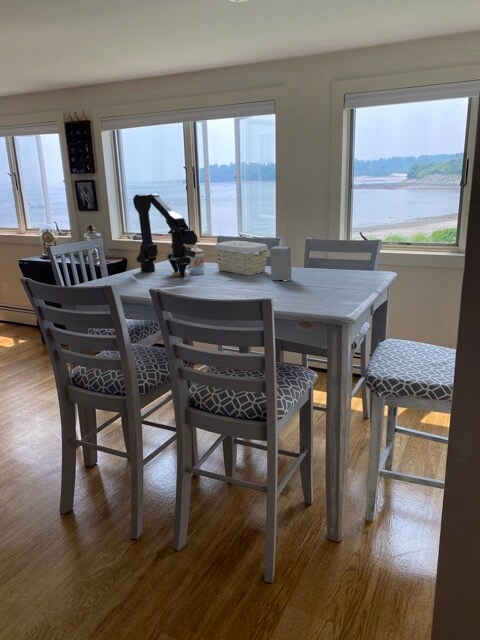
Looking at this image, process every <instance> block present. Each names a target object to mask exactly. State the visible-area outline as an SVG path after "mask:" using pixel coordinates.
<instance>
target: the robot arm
mask: <svg viewBox="0 0 480 640" xmlns="http://www.w3.org/2000/svg"><path fill="white" fill-rule="evenodd" d="M132 202H133V205H134V209H135V210H136V212H137V213H138V218H139V219H138V220H139V227H140V234H141V236H140V237H141V244H140V247H139V249H140V250H139V252H140V253H138V256H137V257H136V262H137V263H138V264H139V265H140V266H139V268H140V273H141V274H142V273H143V274H147V273H149V274H150V273H154V272H156V268H155V266H156V265H155V264H154V262H156V260H157V256H158V252H159V251H158V245H157V244H156V243H154V241H153V238H152V230H151V229H152V228H151V221H150V213H149V212H150V210H151V208H152V207H151V206H152V205H153V207H155V209H156V210H158V212H159V214H160V215H162V216H163V217H164V219H165V222H166V225H168V228H169V229H170V230H169V231H167V234H169V235H170V236H171V245H170V248H171V249H172V250H171V252H168V253H167V255H166V257H167V259H168V262H169V264H170V266H171V267H172V270H173V272H180V275H181V277H184V274H185V272H186V269H187V267H188V265H189V264H190V263H191V259H190V258H189V257H188V256H190V257H192V258H194V257H195V254H196V252H195V251H192V250H191V249H192V248H191V247H189V245H191V246H196V244H197V243H198V239H199V238H198V235H197V233H196V232H195V230H194V229H191V230H190V228H189V226H188V224H187V223H186V220H185V218H184V217H183V216H182V215H180V214H179V213H177V212H175V211H173V210H172V208H170V207H169V206H168V204H166V202H165V201H164V200H163V199H162V198H161V197H160V195H159V194H158V193H150V194H147V193H144V194H142V193H141V194H135V195H134V197H132ZM186 245H188V246H186Z"/></svg>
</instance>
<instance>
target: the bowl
mask: <svg viewBox="0 0 480 640" xmlns="http://www.w3.org/2000/svg"><path fill="white" fill-rule="evenodd" d="M188 271H189V273H188V275H191V276H192V275H193V276H201V275H204V274H205V268H204V267H192V268H189V269H188Z"/></svg>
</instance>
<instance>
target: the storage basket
mask: <svg viewBox="0 0 480 640" xmlns="http://www.w3.org/2000/svg"><path fill="white" fill-rule="evenodd" d="M268 249H269V248H268V245H267V244H265V243H260V242H259V243H258V242H250V241H243V240H230V241H222V242H218V243H215V253H216V257H217V258H216V259H217V267H218V268H217V269H218V271H221V272H227V273H233V274H236V275H243V276H252V275H257V274H261V273H260V272H262V273H264V272H263V271H265V272H266V265H267V252H268ZM256 273H257V274H256Z"/></svg>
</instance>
